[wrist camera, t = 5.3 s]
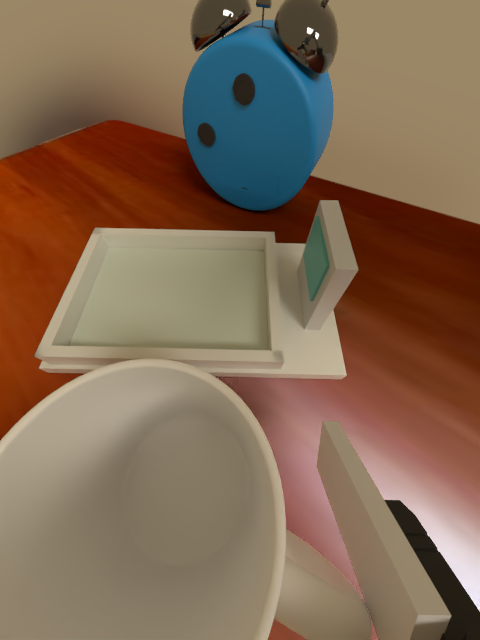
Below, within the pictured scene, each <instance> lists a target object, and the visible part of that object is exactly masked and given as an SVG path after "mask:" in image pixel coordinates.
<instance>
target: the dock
mask: <svg viewBox="0 0 480 640" xmlns="http://www.w3.org/2000/svg"><path fill="white" fill-rule="evenodd" d="M357 271H358V266H357V263H356V260H355V256H354V253H353V249H352V246H351V243H350V239H349V236H348V232H347V229H346V226H345V222H344V219H343V215H342V212H341V209H340V205H339V202H338V201H336V200H320V201H319V205H318V208H317V211H316V214H315V217H314V220H313V223H312V226H311V230H310V233H309V236H308V239H307V242H306V244H296V243H275V232H259V231H214V230H169V229H124V228H95V229H94V231H93V233H92V235H91V237H90V239H89V241H88V243H87V245H86V248H85V250H84V252H83V254H82V256H81V258H80V260H79V262H78V265H77V267H76V269H75V271H74V273H73V275H72V277H71V279H70V281H69V284H68V286H67V288H66V290H65V292H64V294H63V296H62V298H61V300H60V303H59V305H58V307H57V309H56V311H55V313H54V315H53V317H52V320H51V322H50V324H49V326H48V328H47V330H46V332H45V334H44V336H43V339H42V341H41V343H40V345H39V347H38V349H37V351H36V353H35V356H34V357H36V358H38V359H40V360H42V362H41V364H40V367H39V369H41V370H43V371H46V372H48V373H85V374H86V373H88V372H91V371H93V370H96V369H98V368H101V367H104V366H107V365H111V364H114V363H118V362H123V361H128V360H135V359H167V360H173V361H178V362H182V363H186V364H189V365H192V366H194V367H197V368H199V369H202V370H204V371H206V372H208V373H210V374H211V375H213V376H217V377H261V378H305V379H343V378H344V377H345V376H346V375H347V374H346V369H345V365H344V360H343V355H342V350H341V345H340V340H339V335H338V330H337V325H336V320H335V316H334V311H333V309H334V307H335V306H336V304H337V303H338V301H339V299H340V298H341V296H342V295H343V293H344V292H345V290H346V289H347V287H348V285H349V284H350V282H351V281H352V279H353V278H354V276H355V275H356V273H357Z"/></svg>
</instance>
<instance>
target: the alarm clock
mask: <svg viewBox="0 0 480 640" xmlns="http://www.w3.org/2000/svg"><path fill="white" fill-rule="evenodd" d="M328 1H329V0H285V1H284V2H283V3H282V4H281V6H280V8H279V10H278V12H277V14H276V16H275V19H274V20H264V8H271V0H257V1H256V5H257V7H263V15H262V20H260V21H256V22H253V23H250V24H248V25H246V26H244V27H242V28H240V29H238V30H237V31H235V32H233V33H231V34H229V35H227V36H226V35H225V34H226V33H227V32H229V31H230V30H231V29H233V28H234V27H235V26H236V25H238V24H239V23H240V22H241V21H243V20H244V19H245V18H246V17H247V16H248V15H249V14H250V13H251V12H252V10H251V7H250V3H249V1H248V0H199V1H198V2H197V4H196V6H195V8H194V11H193V14H192V19H191V29H190V33H191V41H192V44H193V47H194V49H195V52H198V51H200V50H202V49H204V48H205V47H207V46H208V45H210V44H211V43H213V42H214V41H216V40H217V39H219V38H220V37H222V39H220V40H218V41H216V42H215V43H213V44H212V45H210V46H209V47H208V48H207V49H206V50H205V51H204V52H203V53H202V54H201V56H200V57H199V58H198V60H197V61H196V63H195V64H194V66H193V68H192V70H191V72H190V74H189V77H188V80H187V83H186V86H185V91H184V97H183V125H184V132H185V137H186V141H187V145H188V148H189V151H190V154H191V156H192V159H193V161H194V163H195V165H196V167H197V169H198V170H199V172H200V174H201V175H202V177H203V178H204V179H205V181H206V182H207V183H208V184H209V186H210V187H211V188H212V189H213V190H214V191H215V192H216V193H217V194H218V195H220V196H221V197H222V198H223V199H225V200H226V201H228V202H230V203H231V204H233V205H235V206H238V207H240V208H243V209H247V210H253V211H265V210H271V209H274V208H277V207H279V206H281V205H283V204H285V203H287V202H288V201H289V200H291V199H292V198H293V197H294V196H295V195H296V194H297V193H298V192H299V191H300V190H301V188H302V187H303V185H304V184H305V182H306V181H307V179H308V177H309V176H310V174H311V172H312V171H313V169H314V167H315V165H316V164H317V162H318V160H319V159H320V157H321V155H322V153H323V151H324V149H325V146H326V144H327V141H328V138H329V135H330V131H331V126H332V119H333V92H332V86H331V81H330V77H329V74H328V69H329V67H330V66H331V64H332V62H333V60H334V58H335V54H336V51H337V46H338V29H337V23H336V19H335V17H334V14H333V11H332V10H331V8H330V7H329V5H328V4H327V3H328Z"/></svg>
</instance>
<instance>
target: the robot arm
mask: <svg viewBox="0 0 480 640" xmlns="http://www.w3.org/2000/svg"><path fill="white" fill-rule="evenodd" d="M317 468H318V471H319V474H320V477H321V480H322V482H323V485H324V488H325V491H326V494H327V496H328V499H329V502H330V505H331V507H332V510H333V513H334V516H335V519H336V521H337V524H338V527H339V530H340V533H341V535H342V538H343V541H344V544H345V547H346V549H347V552H348V555H349V558H350V560H351V563H352V566H353V569H354V572H355V574H356V577H357V580H358V583H359V586H360V588H361V591H362V594H363V597H364V600H365V602H366V605H367V608H368V611H369V614H370V616H371V619H372V622H373V625H374V627H375V630H376V633H377V636H378V639H379V640H480V612H479V610H478V609H477V607H476V606H475V604H474V603H473V601H472V600H471V598H470V597H469V595H468V594H467V592H466V591H465V589H464V588H463V586H462V585H461V583H460V582H459V580H458V579H457V577H456V576H455V574H454V573H453V571H452V570H451V568H450V567H449V565H448V564H447V562H446V561H445V559H444V558H443V556H442V555H441V553H440V552H438V550H437V547H436V546H435V544H434V543H433V541H432V540H431V538H430V537H428V535H427V532H426V531H425V529H424V528H423V526H422V525H421V523H420V522H419V520H418V519H417V517H416V516H415V515H414V514H413V513H412V512H411V511H410V510H409V509H408V508H407V507H406V506H405V505H404V504H403V503H402V502H401V501H400V500H384V499H383V497H382V496H381V494H380V492H379V490H378V489H377V487H376V485H375V484H374V482H373V480H372V478H371V477H370V475H369V473H368V472H367V470H366V468H365V466H364V465H363V463H362V461H361V460H360V458H359V456H358V454H357V453H356V451H355V449H354V448H353V446H352V444H351V442H350V441H349V439H348V437H347V436H346V434H345V432H344V430H343V429H342V427H341V425H340V424H339V422H338V421H323V422H322V430H321V437H320V445H319V452H318V460H317Z"/></svg>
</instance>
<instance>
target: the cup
mask: <svg viewBox="0 0 480 640" xmlns="http://www.w3.org/2000/svg"><path fill="white" fill-rule="evenodd" d="M274 619H275V620H277V621H278V622H280V623H281V624H283V625H284V626H286V627H288V628H289V629H291V630H292V631H294V632H296V633H297V634H299V635H301V636H302V637H304V638H305V639H307V640H370V638H371V634H372V633H371V620H370V616H369V613H368V610H367V607H366V605H365V603H364V601H363V600H362V598H361V596H360V595H359V593H358V592H357V590H356V589H355V588H354V586H353V585H352V584H351V583H350V582H349V580H348V579H347V578H346V577H345V576H344V575H343V574H342V573H341V572H340V571H339V570H338V569H337V568H336V567H335V566H334V565H333V564H332V563H331V562H329V561H328V560H327V559H326V558H325V557H324V556H323V555H321V554H320V553H319V552H318V551H316V550H315V549H314V548H313V547H311V546H310V545H309V544H307V543H306V542H305V541H303V540H302V539H301V538H299V537H298V536H296V535H295V534H293V533H292V532H290V531H289V530H287V529H286V515H285V504H284V496H283V490H282V484H281V479H280V475H279V471H278V467H277V463H276V460H275V458H274V455H273V452H272V449H271V446H270V444H269V442H268V440H267V437H266V435H265V433H264V431H263V429H262V428H261V426H260V424H259V422H258V420H257V419H256V417H255V416H254V414H253V413H252V411H251V410H250V409H249V407H248V406H247V405H246V404H245V403H244V401H243V400H242V399H241V398H240V397H239V396H238V395H237V394H236V393H235V392H234V391H233V390H232V389H231V388H230V387H228V386H227V385H226V384H225V383H223V382H222V381H221V380H219V379H218V378H216V377H215V376H213V375H211V374H210V373H208V372H206V371H204V370H202V369H199V368H197V367H194V366H192V365H189V364H186V363H182V362H178V361H173V360H167V359H135V360H128V361H123V362H118V363H114V364H111V365H107V366H104V367H101V368H98V369H96V370H93V371H91V372H88V373H86V374H84V375H82V376H80V377H78V378H76V379H74V380H72V381H70V382H68V383H67V384H65V385H63V386H62V387H60V388H59V389H57V390H56V391H54V392H53V393H51V394H50V395H49V396H47V397H46V398H45V399H43V400H42V401H40V402H39V403H38V404H37V405H36V406H35V407H33V408H32V409H31V410H30V411H29V412H28V413H26V414H25V415H24V416H23V417H22V418H21V419H20V420H19V421H18V422H17V423H16V424H15V425H14V426H13V427H12V428H11V429H10V431H9V432H8V433H7V434H6V435H5V436H4V437H3V438H2V439H1V441H0V640H267V639H268V637H269V633H270V630H271V627H272V623H273V620H274Z"/></svg>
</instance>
